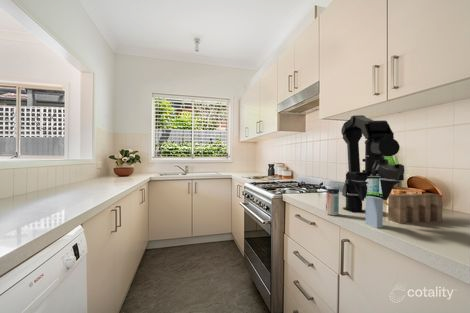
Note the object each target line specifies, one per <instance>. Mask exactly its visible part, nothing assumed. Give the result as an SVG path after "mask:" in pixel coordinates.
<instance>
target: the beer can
mask: <svg viewBox="0 0 470 313" xmlns="http://www.w3.org/2000/svg"><path fill="white" fill-rule="evenodd" d="M325 190H326V191H325V202H326V203H325V213H326V214H327V215H329V216H334V217H335V216H338V215H339V214H340V213H339V208H340V206H339V204H340V202H339V201H340V198H339V195H340V189H339V186H338V185H334V184H332V185H331V184H328V185H327V186H326V188H325Z"/></svg>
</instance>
